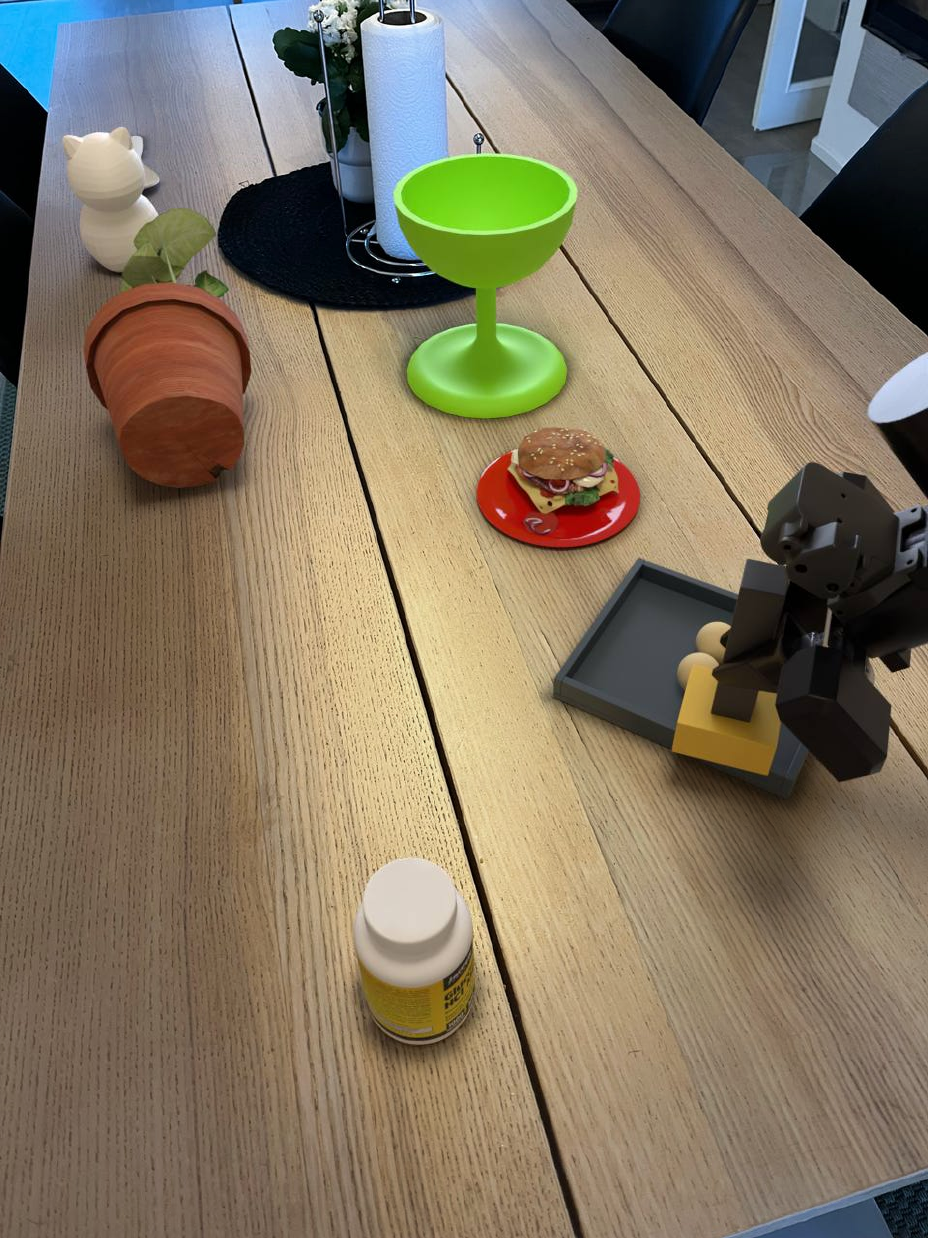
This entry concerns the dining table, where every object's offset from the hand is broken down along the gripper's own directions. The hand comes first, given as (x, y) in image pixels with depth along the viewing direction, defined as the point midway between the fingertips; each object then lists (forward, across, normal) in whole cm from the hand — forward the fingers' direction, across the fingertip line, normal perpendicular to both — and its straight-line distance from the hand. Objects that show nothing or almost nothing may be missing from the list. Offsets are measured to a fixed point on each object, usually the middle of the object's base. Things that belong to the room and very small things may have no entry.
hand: (720, 660), depth 61 cm
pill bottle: (+16, +21, -1) cm, 26 cm away
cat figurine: (+61, -51, -47) cm, 92 cm away
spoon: (+70, -73, -55) cm, 115 cm away
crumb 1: (+6, -9, +6) cm, 13 cm away
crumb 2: (+7, -6, +5) cm, 10 cm away
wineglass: (+28, -40, -13) cm, 50 cm away
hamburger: (+19, -24, -4) cm, 31 cm away
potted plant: (+47, -27, -32) cm, 63 cm away
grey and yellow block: (+4, 0, +6) cm, 7 cm away
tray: (+8, -8, +7) cm, 13 cm away
